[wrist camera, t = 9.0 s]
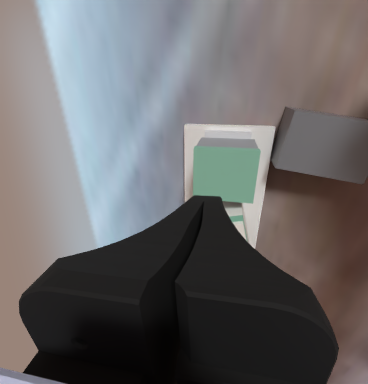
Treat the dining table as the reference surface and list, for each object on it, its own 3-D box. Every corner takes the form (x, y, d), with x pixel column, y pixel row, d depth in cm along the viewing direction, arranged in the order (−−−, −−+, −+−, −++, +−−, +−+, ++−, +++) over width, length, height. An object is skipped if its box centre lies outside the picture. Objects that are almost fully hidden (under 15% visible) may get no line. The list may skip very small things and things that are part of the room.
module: (248, 230, 20) (252, 271, 16) (204, 235, 21) (197, 274, 17) (240, 190, 18) (243, 223, 14) (194, 197, 20) (183, 230, 15)
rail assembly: (273, 125, 17) (288, 140, 13) (250, 269, 24) (254, 313, 19) (186, 123, 19) (171, 136, 14) (186, 260, 25) (175, 299, 20)
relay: (369, 119, 16) (395, 126, 14) (344, 169, 18) (363, 184, 15) (285, 106, 17) (295, 110, 14) (269, 156, 19) (275, 168, 16)
